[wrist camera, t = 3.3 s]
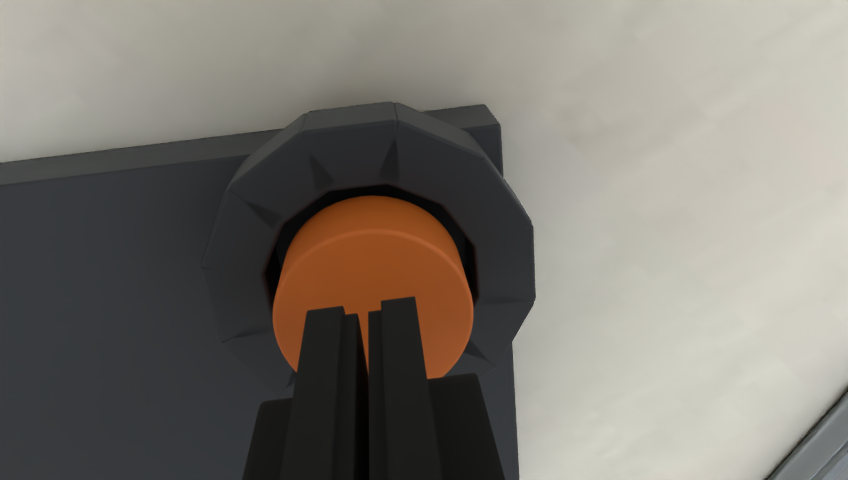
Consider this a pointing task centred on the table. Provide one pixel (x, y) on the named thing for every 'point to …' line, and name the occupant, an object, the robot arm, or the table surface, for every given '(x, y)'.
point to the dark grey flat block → (222, 283)
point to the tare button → (376, 275)
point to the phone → (820, 450)
